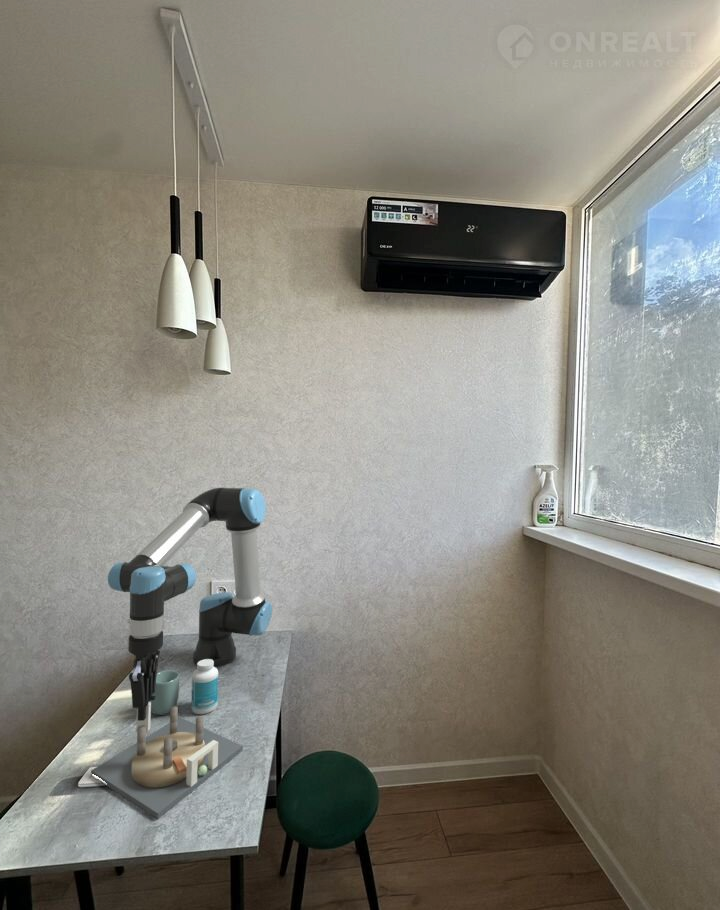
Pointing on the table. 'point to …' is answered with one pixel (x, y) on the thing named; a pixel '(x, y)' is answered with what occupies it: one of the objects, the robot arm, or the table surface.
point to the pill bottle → (204, 687)
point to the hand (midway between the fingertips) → (143, 730)
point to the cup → (165, 692)
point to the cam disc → (166, 754)
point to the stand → (167, 797)
